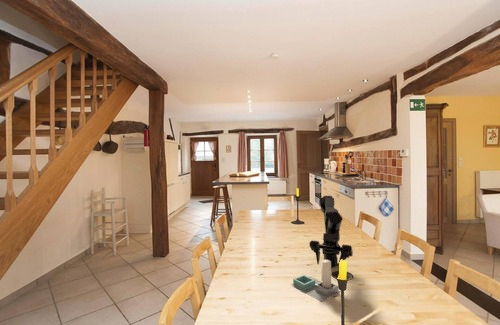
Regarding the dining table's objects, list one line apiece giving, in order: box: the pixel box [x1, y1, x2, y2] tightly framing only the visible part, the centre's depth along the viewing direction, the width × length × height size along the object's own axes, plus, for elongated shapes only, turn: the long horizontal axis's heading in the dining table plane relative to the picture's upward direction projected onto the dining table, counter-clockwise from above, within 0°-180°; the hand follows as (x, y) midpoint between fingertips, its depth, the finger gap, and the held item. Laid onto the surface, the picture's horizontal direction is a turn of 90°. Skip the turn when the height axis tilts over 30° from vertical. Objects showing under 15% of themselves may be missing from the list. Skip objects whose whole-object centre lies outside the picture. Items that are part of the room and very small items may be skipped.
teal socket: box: [292, 274, 315, 290], centre depth 120 cm, size 7×7×2 cm
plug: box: [320, 259, 332, 290], centre depth 115 cm, size 4×4×13 cm
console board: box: [290, 276, 342, 303], centre depth 118 cm, size 18×13×1 cm
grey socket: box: [315, 281, 339, 297], centre depth 115 cm, size 7×7×2 cm
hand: (328, 265), depth 117 cm, fingers open, 9 cm apart
